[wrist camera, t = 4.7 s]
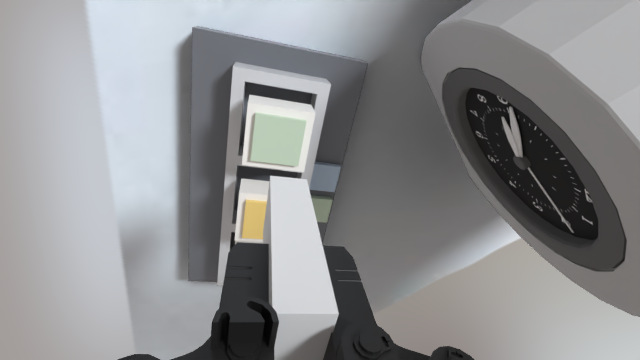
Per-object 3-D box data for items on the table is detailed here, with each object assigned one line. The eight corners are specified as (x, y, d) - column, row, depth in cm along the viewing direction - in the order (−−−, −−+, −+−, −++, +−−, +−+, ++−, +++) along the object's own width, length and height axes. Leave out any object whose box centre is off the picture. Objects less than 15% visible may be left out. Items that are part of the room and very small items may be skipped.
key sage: (249, 94, 20) (247, 103, 18) (311, 104, 20) (316, 114, 18) (243, 152, 21) (241, 166, 19) (301, 159, 22) (304, 174, 20)
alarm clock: (399, 18, 23) (783, 29, 6) (489, -46, 22) (1279, -261, 5) (482, 205, 33) (717, 413, 16) (547, 167, 32) (875, 346, 15)
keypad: (198, 26, 21) (185, 28, 18) (360, 59, 24) (376, 67, 21) (192, 265, 31) (183, 297, 28) (309, 270, 34) (314, 300, 30)
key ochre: (241, 178, 22) (238, 194, 20) (296, 184, 23) (299, 200, 21) (236, 224, 24) (234, 243, 22) (288, 227, 25) (290, 246, 23)
